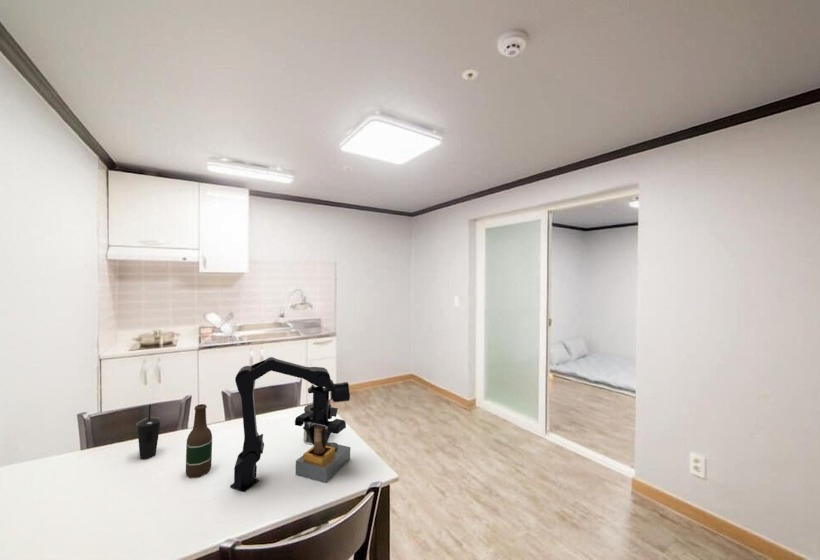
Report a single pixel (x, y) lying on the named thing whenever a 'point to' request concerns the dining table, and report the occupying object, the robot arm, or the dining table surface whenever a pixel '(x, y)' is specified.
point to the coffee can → (306, 437)
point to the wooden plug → (318, 439)
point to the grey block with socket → (323, 462)
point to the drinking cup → (148, 435)
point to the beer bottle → (199, 445)
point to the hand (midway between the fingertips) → (319, 445)
